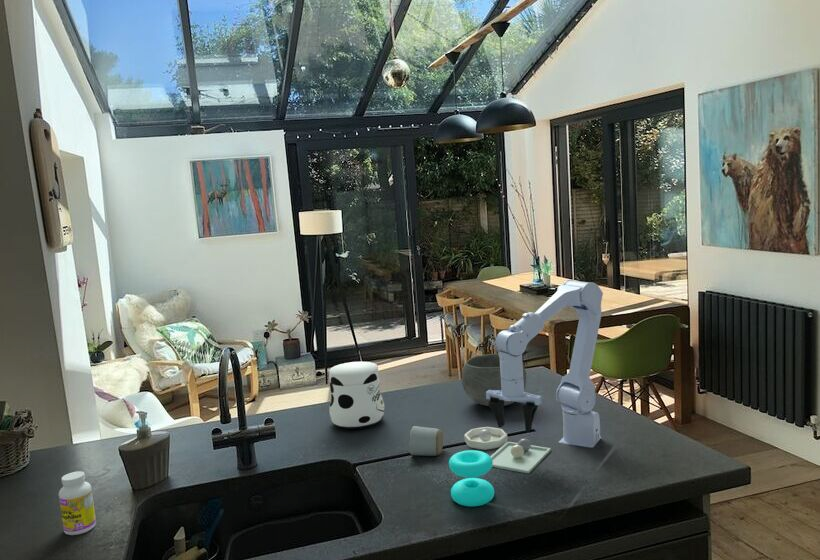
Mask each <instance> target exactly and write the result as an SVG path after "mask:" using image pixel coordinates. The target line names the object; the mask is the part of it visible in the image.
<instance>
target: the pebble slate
mask: <svg viewBox="0 0 820 560" xmlns="http://www.w3.org/2000/svg"><path fill="white" fill-rule="evenodd" d="M517 443H518V445H520V446H522V447H523V449H524V452H526V451H528V450H529V449H530V447H531V445H532V444H531V441H530V440H529V439H528V438H525V437H524V438H520V439H519V440H518V441H517Z"/></svg>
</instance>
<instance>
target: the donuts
mask: <svg viewBox="0 0 820 560" xmlns="http://www.w3.org/2000/svg"><path fill="white" fill-rule="evenodd" d="M490 456H491V455H489V454H488V453H486V452H484V451H481V450H474V449H470V450H469V449H468V450H463V451H459V452H456V453H454V454H453V455H452V456H451V457H450V458H449V459H448V467H449V469H450V471H451V472H452V473H453V474H455V475H456V476H459V477H461V478H462V477H463V478H462V479H461V480H458V481H456V482H455V483H454V484H453V485H452V487H451V488H450V496H451V498H452V500H453V501H454V502H455V503H457V504H458V505H460V506H465V507H480V506H484V505H486V504H488V503H489V502H491V501H492V499H494V497H495V488H494V486H493V485H492V484H491V483H490V482H489V481H487V480H486V479H482V478H479V477H482V476H485V475H486V474H487V473H489V472H490V471H491V469H492V468H493V467H492V465H493V461H492V458H491V457H490Z"/></svg>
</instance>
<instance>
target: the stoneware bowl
mask: <svg viewBox="0 0 820 560" xmlns="http://www.w3.org/2000/svg"><path fill="white" fill-rule="evenodd" d="M483 429H487V430H489V431H490V432H491V439H490V440H489V441H486V442H485V441H482V440H481V439H480V437H479V433H480V431H481V430H483ZM463 435H464V436H463V437H464V442H465V443H466V445H467V446H468V447H469V448H473V449H477V450H493V449H496V448H498V449H499V448H501V447H502V446H503V445H504V444H505V443H506V442H509V440H508V434H507V432H505V431H504V429H502V428H500V427H498V428H497V427H491V426H484V427H477V428H471V429H470V430H468V431H467V432H466V433H465V434H464V433H463Z"/></svg>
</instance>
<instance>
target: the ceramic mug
mask: <svg viewBox="0 0 820 560" xmlns="http://www.w3.org/2000/svg"><path fill="white" fill-rule="evenodd" d="M408 444H409V446H408V447H409V453H410V455H411V456H429V457H430V456H431V457H435V456H440V455H441V454H442V452H443V446H444V433H443V431H442V430H441V429H439V428H436V427H435V428H434V427H425V426H418V425H417V426H416V425H413V426H412V427H411V429H410V432H409V443H408Z"/></svg>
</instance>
